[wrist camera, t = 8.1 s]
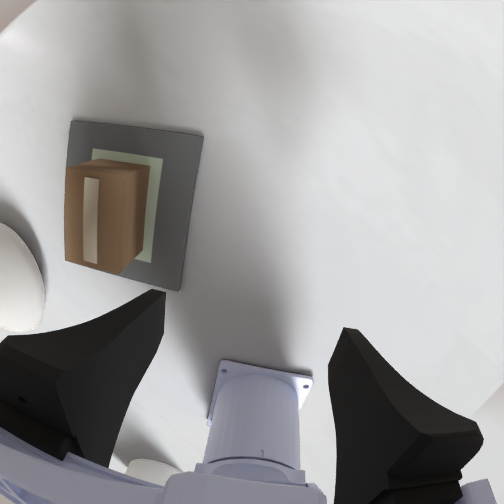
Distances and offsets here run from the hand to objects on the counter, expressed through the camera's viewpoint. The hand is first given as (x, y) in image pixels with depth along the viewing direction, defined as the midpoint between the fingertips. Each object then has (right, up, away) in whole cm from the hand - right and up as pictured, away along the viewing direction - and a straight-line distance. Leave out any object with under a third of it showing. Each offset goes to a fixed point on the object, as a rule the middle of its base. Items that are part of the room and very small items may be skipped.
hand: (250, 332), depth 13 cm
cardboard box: (-9, +6, +8) cm, 14 cm away
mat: (-9, +6, +9) cm, 14 cm away
